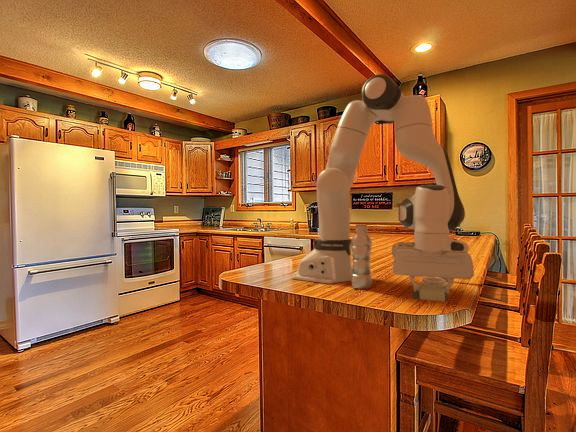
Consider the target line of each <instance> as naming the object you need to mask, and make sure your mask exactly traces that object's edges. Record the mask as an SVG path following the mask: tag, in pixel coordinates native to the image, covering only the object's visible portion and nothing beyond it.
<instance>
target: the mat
mask: <svg viewBox="0 0 576 432" xmlns="http://www.w3.org/2000/svg"><path fill="white" fill-rule="evenodd" d="M410 292H411V298H412V300H421V301H423V300H422V299H420V297H419V292H414V291H410ZM430 301H433V302H434V300H430ZM442 302H445V303H450V300H449V298H448V297H447V294H445V301H442Z"/></svg>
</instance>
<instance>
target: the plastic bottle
mask: <svg viewBox="0 0 576 432" xmlns="http://www.w3.org/2000/svg"><path fill="white" fill-rule="evenodd" d="M368 231H369V230H368V224H355V234H354V235H353V236H352V239H351V245H352V250H351V254H352V270H353V271H352V277H351V281H350V282H351V286H352V288H355V289H357V290H358V289H359V290H367V289H370V288H371V287H372V284H373V276H372V273H371V272H372V271H371V253H372V245H373V244H372V243H373V242H372V241H373V240H372V239H371V237H370V234H368Z"/></svg>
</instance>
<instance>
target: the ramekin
mask: <svg viewBox="0 0 576 432" xmlns="http://www.w3.org/2000/svg"><path fill="white" fill-rule="evenodd" d="M421 284H425V285H440V286H442V288H443V286H445V287H446V285H447V282H446V280H445V279H442V278H439V277H424V276H423V277H422V278H421Z"/></svg>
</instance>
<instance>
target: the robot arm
mask: <svg viewBox="0 0 576 432" xmlns="http://www.w3.org/2000/svg"><path fill="white" fill-rule="evenodd" d="M361 97H362V100H359V99H357V100H356V99H355V100H352V101H350V102H349V103H348V104H347V105H346V106H345V109H344V111H343V113H342V114H341V117H340V118H339V122H338V125H337V127H336V130H335V132H334V133H335V134H334V136H333V140H332V141H331V146H330V148H329V150H328V151H329V152H328V153H329V154H328V157H327V163H326V166H325V169H324V170H322V171H321V172H320V173H319V174H318V176H317V178H316V182H315V183H316V187H315V188H316V201H317V210H318V211H317V212H318V238H316V239H315V240H314V241H313V243H312V245H313V249H312V250H310V251H309V252H308V253H307V254H306V255H305V256H303V257H302V258H301V259H300V260H299V263H298V268H297V271H295V272H293V273H292V275H291V279H293V280H297V281H307V282H313V283H314V282H315V283H323V284H328V285H329V284H330V285H331V284H336V283H343V282H351V277H352V271H353V263H352V259H351V258H352V257H351V254H352V245H351V241H352V239H351V221H350V220H351V214H350V213H351V211H350V192H351V188H352V185H353V182H354V178H355V175H356V173H357V169H358V165H359V162H360V159H361V156H362V153H363V149H364V147H365V144H366V141H367V137H368V135H369V132H370V129H371V127H372V125H373V124H374V123H375V124H376V125H379V126H380V125H385V124H386V125H387V124H389V125H390V124H394V140H395V146H396V150H397V151H398V152H399V154H401V155H402V156H403V157H404V158H406V159H407V160H410V161H412V162H415V163H418V164H421V165H423V166H425V167H426V168H428V169H429V170H430V171H431V172H432V173H433V175H434V179H435V184H434V183H433V184H432V183H431V184H430V183H429V184H421V185H417V186H416V187H415V191H414V192H415V193H414V194H413V195H411V196H409V197H408V198H405V199H403V200H402V202H401V203H400V204H399V205H398V213H397V214H398V221H399V223H400V224H401V225H402V226H403V227H405V228H406V229H412V230H414V231H413V234H414V235H413V236H414V237H413V238H414V239H413V242H411V241H410V242H408V241H407V242H403V241H398V242H396V243H394V244H393V245H392V246H391V255H392V257H393V262H392V272H393V274H394V275H395V276H396V275H397V276H409V280H410V283H411V284H412V287H413V292H419V291H420V290H419V289H420V286H419V284H417V283H416V282H415V280H416V277H423V278H424V277H436V278H439V277H440V278H447V280H448V282H447V283H446V287H445V286H443V290H444V292H445V295H450V289H451V287H452V286H453V285H454V283H455V279H457V280H459V279H460V280H471V279H473V278H474V274H475V273H474V272H475V270H474V264H473V258H472V256H471V254H469V253H468V251H469V244H468V243H467V242H465V241H463V240H458V239H457V238H453V237H450V231H453V230H455V229H456V228H458V227H459V226H460V225H462V223H463V222H464V220H465V217H466V212H465V211H466V210H465V207H464V205H463V203H462V199H461V197H460V195H459V191H458V187H457V183H456V181H455V180H456V179H455V176H454V172H453V167H452V166H451V165H452V164H451V161H450V157H449V154H448V152H447V149H446V148H445V147H444V146H443V145H441V144H440V143H439V142H438V140H437V138H436V136H435V133H434V129H433V128H434V126H433V117H432V114H431V110H430V105H429V101H428V100H427V99H426V98H425V97H424V96H422V95H418V94H413V95H404V92H403V90H402V89H401V88H400V87H399V85H398V84H397V83H396V81H394V79H392V78H391V77H390V76H389V75H387V74H386V75H385V74H381V73H379V74H375V75H373V76H371V77H369V78H368V79H367V80H366V81H365V83H364V84H363V85H362V88H361Z"/></svg>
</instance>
